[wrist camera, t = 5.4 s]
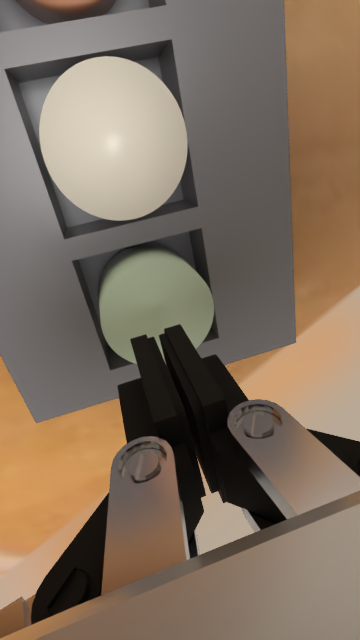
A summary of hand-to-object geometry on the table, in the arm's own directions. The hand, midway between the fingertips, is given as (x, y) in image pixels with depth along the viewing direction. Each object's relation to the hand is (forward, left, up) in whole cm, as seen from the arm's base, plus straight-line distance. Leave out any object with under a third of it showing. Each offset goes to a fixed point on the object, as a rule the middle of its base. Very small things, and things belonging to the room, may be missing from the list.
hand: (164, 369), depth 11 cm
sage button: (-1, 0, -8) cm, 8 cm away
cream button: (-1, -7, -8) cm, 10 cm away
